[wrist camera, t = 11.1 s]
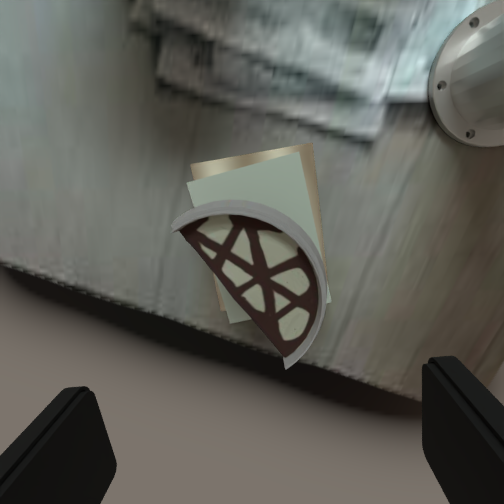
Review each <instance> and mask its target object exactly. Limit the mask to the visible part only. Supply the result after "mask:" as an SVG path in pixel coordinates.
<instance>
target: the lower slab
mask: <svg viewBox="0 0 504 504" xmlns="http://www.w3.org/2000/svg"><path fill="white" fill-rule="evenodd" d="M295 152H299V154H300V158H301V163H302V168H303V172H304V177H305V181H306V186H307V191H308V195H309V200H310V205H311V209H312V214H313V218H314V223H315V228H316V232H317V237H318V241H319V246H320V251H321V255H322V260H323V264H324V268H325V273H326V277H327V270H326V261H325V251H324V242H323V233H322V224H321V215H320V206H319V197H318V188H317V179H316V170H315V161H314V152H313V143H307V144H302V145H296V146H291V147H285V148H279V149H274V150H268V151H262V152H257V153H251V154H245V155H240V156H234V157H229V158H223V159H217V160H212V161H206V162H200V163H195V164H190V165H191V169H192V174H193V179H194V180H198V179H202V178H205V177H209V176H212V175H216V174H220V173H223V172H227V171H230V170H234V169H238V168H241V167H245V166H249V165H252V164H256V163H259V162H263V161H267V160H270V159H274V158H277V157H281V156H285V155H288V154H292V153H295ZM213 275H214V280H215V285H216V290H217V294H218V299H219V304H220V309H221V311H226V309H225V305H224V302H223V299H222V296H221V292H220V289H219V286H218V283H217V279H216V276H215V274H214V272H213ZM327 283H328V279H327Z"/></svg>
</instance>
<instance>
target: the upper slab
mask: <svg viewBox="0 0 504 504" xmlns="http://www.w3.org/2000/svg"><path fill="white" fill-rule="evenodd" d="M187 186H188V189H189V192H190V195H191V199H192V202H193V205H194V208H195V207H197V206H199V205H203V204H206V203H210V202H213V201H221V200H246V201H251V202H256V203H261V204H263V205H266V206H269V207H271V208H274V209H276V210H278V211H279V212H281V213H283V214H285V215H286V216H288V217H289V218H291V219H292V220H293V221H294V222H296V223H297V224H298V225H299V226H300V227H301V228H302V229H303V230H304V231H305V232H306V233H307V235H308V236H309V237H310V238H311V240H312V241H313V243H314V244H315V246H316V248H317V249H318V251H319V254H320V256H321V259H322V255H321V251H320V246H319V241H318V237H317V232H316V228H315V223H314V218H313V214H312V209H311V205H310V200H309V195H308V191H307V186H306V181H305V177H304V172H303V168H302V163H301V158H300V154H299V152H295V153H292V154H288V155H285V156H281V157H277V158H274V159H270V160H267V161H263V162H259V163H256V164H252V165H249V166H245V167H241V168H238V169H234V170H230V171H227V172H223V173H220V174H216V175H212V176H209V177H205V178H202V179H198V180H194V181H191V182H187ZM322 261H323V260H322ZM215 276H216V275H215ZM216 279H217V283H218V286H219V289H220V292H221V296H222V299H223V302H224V305H225V309H226V312H227V315H228V318H229V322H230V324H232V323H237V322H241V321H246V320H251V317H250V316H249V315H248V314H247V313H246V312H245V311H244V310H243V309H242V308H241V307H240V306H239V304H238V303H237V302H236V301H235V300H234V299H233V298H232V296H231V295H230V294H229V292H228V291H227V290H226V288H225V287H224V286H223V284H222V283H221V282H220V280H219V279H218V278H217V276H216ZM330 302H331V297H330V292H329V288H328V283H327V301H326V303H330Z"/></svg>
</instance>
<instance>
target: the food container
mask: <svg viewBox="0 0 504 504" xmlns="http://www.w3.org/2000/svg"><path fill="white" fill-rule="evenodd" d="M171 227H172V228H173V230H172V231H171V233H173V232H177V231H180V233H181V234H182V235H183V236H184V238H185V239H186V241H187V242H188V243H190V244H191V246H192V247H193V248H194V249H195V250H196V251H197V252H198V254H199V255H200V256H201V257H202V259H203V260H204V261H205V262H206V264H207V265H208V266H209V267H210V269H211V270H212V271H213V272H214V274H215V275H216V276H217V278H218V279H219V280H220V282H221V283H222V284H223V286H224V287H225V288H226V290H227V291H228V292H229V294H230V295H231V296H232V298H233V299H234V300H235V301H236V302H237V303H238V304H239V306H240V307H241V308H242V309H243V310H244V311H245V312H246V313H247V314H248V315H249V316H250V317H251V319H252V320H253V321H254V322H255V323H256V324H257V325H258V326H259V328H260V329H261V330H262V331H263V332H264V334H265V335H266V336H267V337H268V338H269V340H270V341H271V342H272V343H273V344H274V346H275V347H276V348H277V349H278V350H279V352H280V353H281V354H282V355H283V359H284V365H285V369H287V368H289V367H290V366H292V365H293V364H294V363H295V362H297V361H298V360H299V359H300V358H301V357H302V356H303V355H304V354H305V352H306V351H307V349H308V348H309V347H310V345H311V344H312V343H313V341H314V339H315V338H316V336H317V334H318V332H319V330H320V328H321V325H322V321H323V318H324V315H325V308H326V301H327V277H326V273H325V268H324V264H323V261H322V259H321V256H320V254H319V251H318V249H317V248H316V246H315V244H314V243H313V241H312V240H311V238H310V237H309V236H308V235H307V233H306V232H305V231H304V230H303V229H302V228H301V227H300V226H299V225H298V224H297V223H296V222H294V221H293V220H292V219H291V218H289V217H288V216H286V215H285V214H283V213H281V212H279V211H278V210H276V209H274V208H271V207H269V206H266V205H263V204H261V203H256V202H251V201H246V200H221V201H213V202H210V203H206V204H203V205H199V206H197V207H195V208H193V209H191V210H188V211H186V212H185V213H183V214H182V215H180V216H179V217H177V218H176V219H175V220H174V222H173V224H172V225H171Z"/></svg>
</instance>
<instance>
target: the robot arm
mask: <svg viewBox="0 0 504 504" xmlns="http://www.w3.org/2000/svg"><path fill="white" fill-rule="evenodd" d="M470 26H471V27H470ZM437 85H438V86H439V90H438V89H437ZM428 93H429V100H430V106H431V109H432V112H433V115H434V117H435V119H436V121H437V122H438V124H439V126H440V127H441V128H442V129H443V130H444V131H445V132H446V133H447V134H448V135H449V136H450V137H452V138H453V139H455V140H456V141H458V142H460V143H463V144H466V145H468V146H475V147H495V146H501V145H504V0H496V1H493V2H491V3H489V4H487V5H485V6H483V7H481V8H479V9H477V10H476V11H475V12H473V13H472V14H470V15H469V16H468V17H466V18H465V19H464V20H463V21H462V22H461V23H459V24H458V25H457V26H456V27H455V28H454V29H453V30H452V32H451V33H450V34H449V35H448V36H447V38H446V39H445V40H444V42H443V44H442V45H441V47H440V49H439V50H438V52H437V55H436V57H435V60H434V62H433V65H432V68H431V73H430V77H429V91H428ZM466 133H467V137H466ZM422 446H423V450H424V454H425V457H426V459H427V462H428V463H429V465H430V467H431V469H432V471H433V473H434V475H435V477H436V479H437V480H438V482H439V484H440V486H441V488H442V490H443V492H444V494H445V495H446V497H447V499H448V501H449V503H450V504H504V406H503V405H502V404H501V403H500V402H499V401H498V400H497V399H496V398H495V397H494V396H493V395H492V394H491V393H490V391H489V390H488V389H487V388H486V387H485V386H484V385H483V384H482V383H481V382H480V381H479V380H478V379H477V378H476V377H475V376H474V375H473V374H472V373H471V372H470V371H469V370H468V369H467V368H466V367H465V366H464V365H463V364H462V363H461V362H460V361H459V360H458V359H457V358H456V357H455V356H443V357H431V358H429V360H428V364H423V366H422ZM116 467H117V463H116V459H115V456H114V453H113V450H112V446H111V443H110V440H109V437H108V434H107V431H106V428H105V425H104V422H103V419H102V415H101V412H100V409H99V406H98V403H97V400H96V397H95V394H94V393H93V392H92V391H90V390H89V388H88V387H85V386H82V387H70V388H65V389H63V390H62V391H61V392H60V393H59V394H58V395H57V396H56V397H55V398H54V399H53V400H52V401H51V403H50V404H49V405H48V406H47V407H46V408H45V409H44V410H43V411H42V412H41V413H40V414H39V415H38V416H37V417H36V419H34V421H33V422H32V423H31V424H30V425H29V426H28V427H27V428H26V429H25V430H24V431H23V432H22V433H21V435H19V436H18V438H17V439H16V440H15V441H14V442H13V443H12V444H11V445H10V446H9V447H8V448H7V449H6V450H5V451H4V452H3V453H2V454H1V455H0V504H100V503H101V501H102V499H103V497H104V495H105V493H106V492H107V490H108V488H109V486H110V484H111V482H112V480H113V478H114V475H115V473H116Z"/></svg>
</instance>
